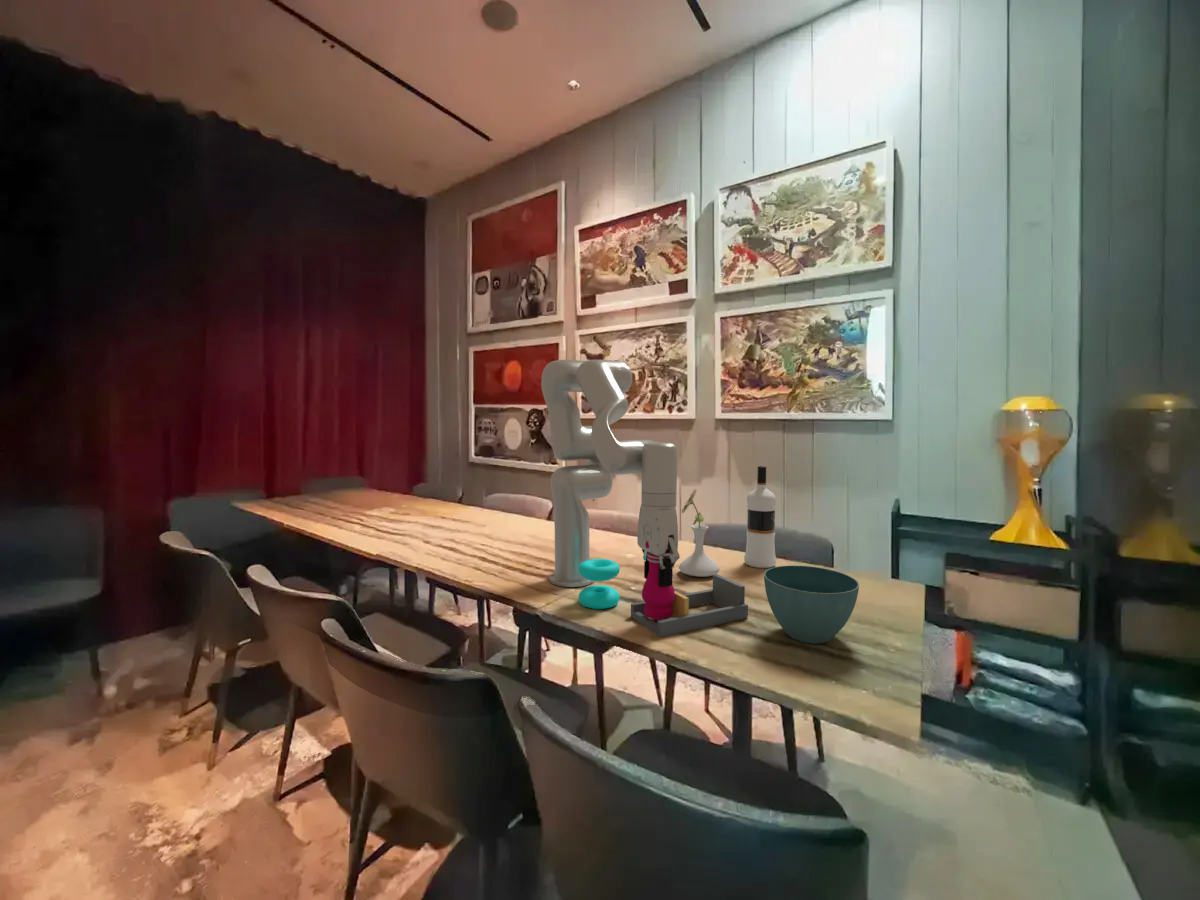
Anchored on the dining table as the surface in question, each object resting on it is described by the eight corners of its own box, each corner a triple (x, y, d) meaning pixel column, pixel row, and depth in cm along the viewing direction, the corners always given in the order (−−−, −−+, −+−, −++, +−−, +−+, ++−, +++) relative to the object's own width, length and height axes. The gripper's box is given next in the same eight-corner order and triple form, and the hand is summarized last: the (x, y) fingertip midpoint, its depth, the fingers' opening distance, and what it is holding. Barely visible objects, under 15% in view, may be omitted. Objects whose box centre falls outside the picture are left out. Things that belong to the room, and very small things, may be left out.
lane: (630, 616, 122) (630, 586, 122) (713, 600, 132) (713, 572, 132) (660, 637, 111) (660, 604, 111) (747, 618, 121) (748, 587, 121)
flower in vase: (689, 566, 162) (690, 483, 160) (725, 572, 155) (727, 486, 153) (668, 577, 151) (669, 488, 149) (706, 584, 145) (707, 492, 143)
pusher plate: (661, 611, 124) (661, 585, 124) (664, 610, 125) (664, 585, 124) (684, 626, 116) (684, 598, 115) (688, 625, 116) (688, 598, 116)
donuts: (615, 556, 136) (623, 568, 126) (615, 595, 137) (623, 609, 127) (576, 558, 134) (580, 569, 124) (576, 597, 135) (581, 612, 125)
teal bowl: (846, 622, 119) (847, 567, 118) (867, 659, 101) (869, 595, 100) (760, 615, 123) (761, 562, 122) (766, 650, 105) (767, 588, 104)
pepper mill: (665, 623, 113) (666, 529, 112) (635, 616, 117) (636, 525, 116) (680, 612, 119) (681, 523, 118) (651, 606, 123) (651, 519, 122)
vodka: (740, 560, 168) (742, 464, 166) (770, 560, 168) (772, 464, 166) (749, 569, 159) (751, 467, 156) (780, 569, 159) (783, 467, 156)
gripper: (624, 495, 122) (624, 573, 124) (665, 507, 107) (664, 597, 109) (653, 492, 126) (652, 569, 127) (696, 504, 110) (695, 591, 112)
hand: (657, 581), depth 118 cm, fingers closed on pepper mill, 5 cm apart
